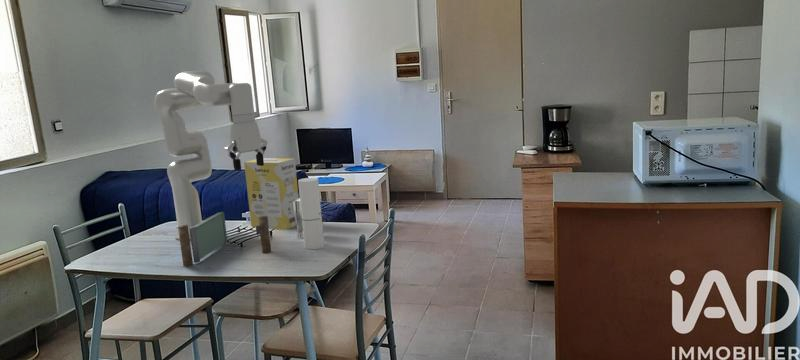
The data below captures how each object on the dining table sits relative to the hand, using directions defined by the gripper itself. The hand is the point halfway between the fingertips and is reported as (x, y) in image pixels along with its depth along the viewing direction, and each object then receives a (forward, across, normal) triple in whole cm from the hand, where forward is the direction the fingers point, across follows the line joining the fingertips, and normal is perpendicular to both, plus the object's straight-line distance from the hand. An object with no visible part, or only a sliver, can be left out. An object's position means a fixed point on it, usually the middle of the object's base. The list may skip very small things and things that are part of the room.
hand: (249, 167), depth 203 cm
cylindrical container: (+31, -15, +13) cm, 37 cm away
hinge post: (+31, +21, -12) cm, 40 cm away
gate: (+30, +10, -15) cm, 35 cm away
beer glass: (+31, -22, 0) cm, 38 cm away
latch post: (+31, -2, +2) cm, 31 cm away
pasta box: (+31, -28, -25) cm, 49 cm away
